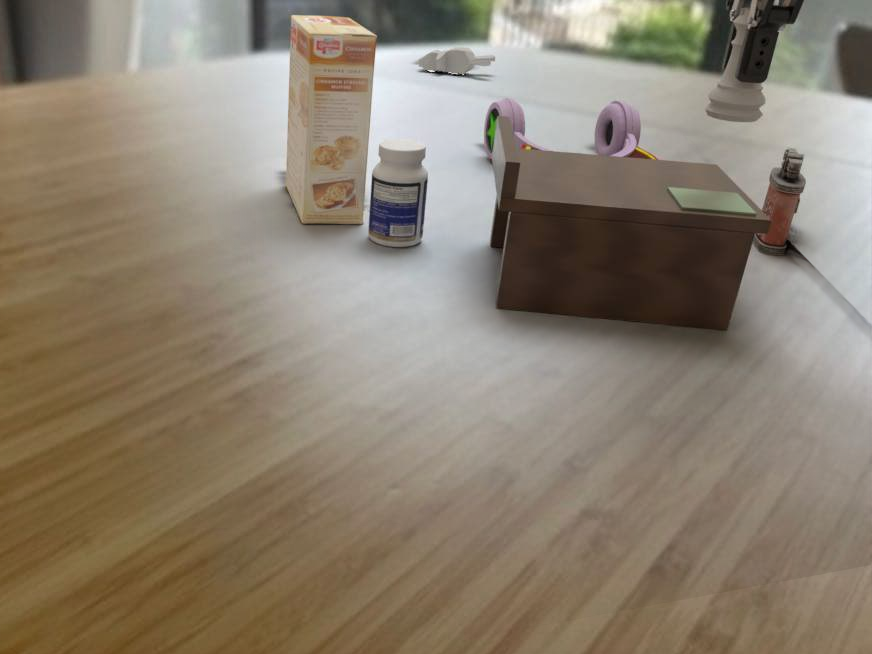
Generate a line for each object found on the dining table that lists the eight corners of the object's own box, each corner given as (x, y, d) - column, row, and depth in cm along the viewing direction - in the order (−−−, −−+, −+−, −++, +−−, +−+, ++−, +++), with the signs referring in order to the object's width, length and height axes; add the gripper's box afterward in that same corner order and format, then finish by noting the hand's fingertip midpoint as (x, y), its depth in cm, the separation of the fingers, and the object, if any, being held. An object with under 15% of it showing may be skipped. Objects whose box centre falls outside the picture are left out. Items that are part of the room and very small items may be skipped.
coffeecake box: (365, 225, 99) (379, 34, 89) (300, 225, 97) (307, 32, 88) (341, 185, 111) (351, 15, 102) (284, 185, 110) (288, 13, 101)
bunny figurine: (425, 46, 192) (496, 44, 187) (426, 72, 194) (496, 70, 190) (415, 52, 184) (489, 50, 179) (415, 78, 186) (488, 77, 182)
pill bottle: (386, 226, 98) (394, 134, 94) (431, 239, 96) (442, 144, 91) (357, 239, 94) (363, 143, 89) (403, 252, 91) (413, 154, 87)
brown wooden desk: (692, 259, 94) (724, 133, 88) (739, 331, 78) (783, 184, 72) (480, 240, 96) (497, 115, 90) (484, 307, 80) (505, 161, 74)
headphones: (618, 99, 129) (692, 111, 111) (608, 169, 133) (678, 192, 114) (486, 96, 126) (539, 107, 107) (479, 168, 129) (530, 191, 111)
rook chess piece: (774, 122, 71) (804, 13, 68) (726, 123, 70) (754, 13, 66) (736, 110, 75) (763, 6, 71) (691, 111, 74) (715, 5, 70)
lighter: (788, 257, 97) (817, 163, 92) (754, 252, 97) (781, 159, 93) (781, 234, 103) (808, 146, 98) (749, 230, 104) (774, 142, 99)
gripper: (908, -187, 57) (823, 98, 65) (826, -171, 69) (764, 66, 77) (784, -192, 57) (716, 90, 65) (725, -176, 69) (674, 60, 78)
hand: (742, 76), depth 71 cm, fingers closed on rook chess piece, 3 cm apart
